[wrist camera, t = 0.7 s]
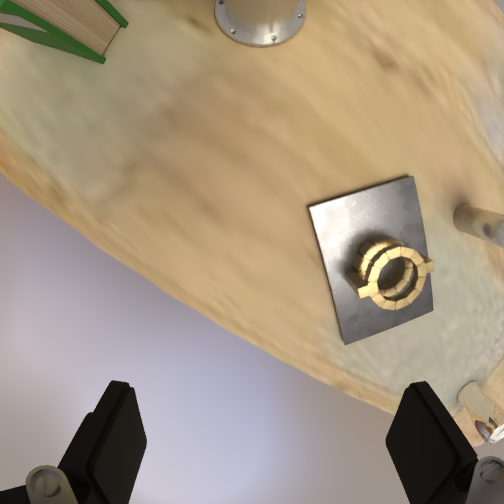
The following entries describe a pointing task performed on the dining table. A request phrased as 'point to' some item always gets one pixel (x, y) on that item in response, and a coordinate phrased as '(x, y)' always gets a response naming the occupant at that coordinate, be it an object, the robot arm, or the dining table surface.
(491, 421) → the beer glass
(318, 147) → the dining table surface
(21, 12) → the hardback book
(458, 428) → the robot arm
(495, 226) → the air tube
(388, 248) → the collar stand
